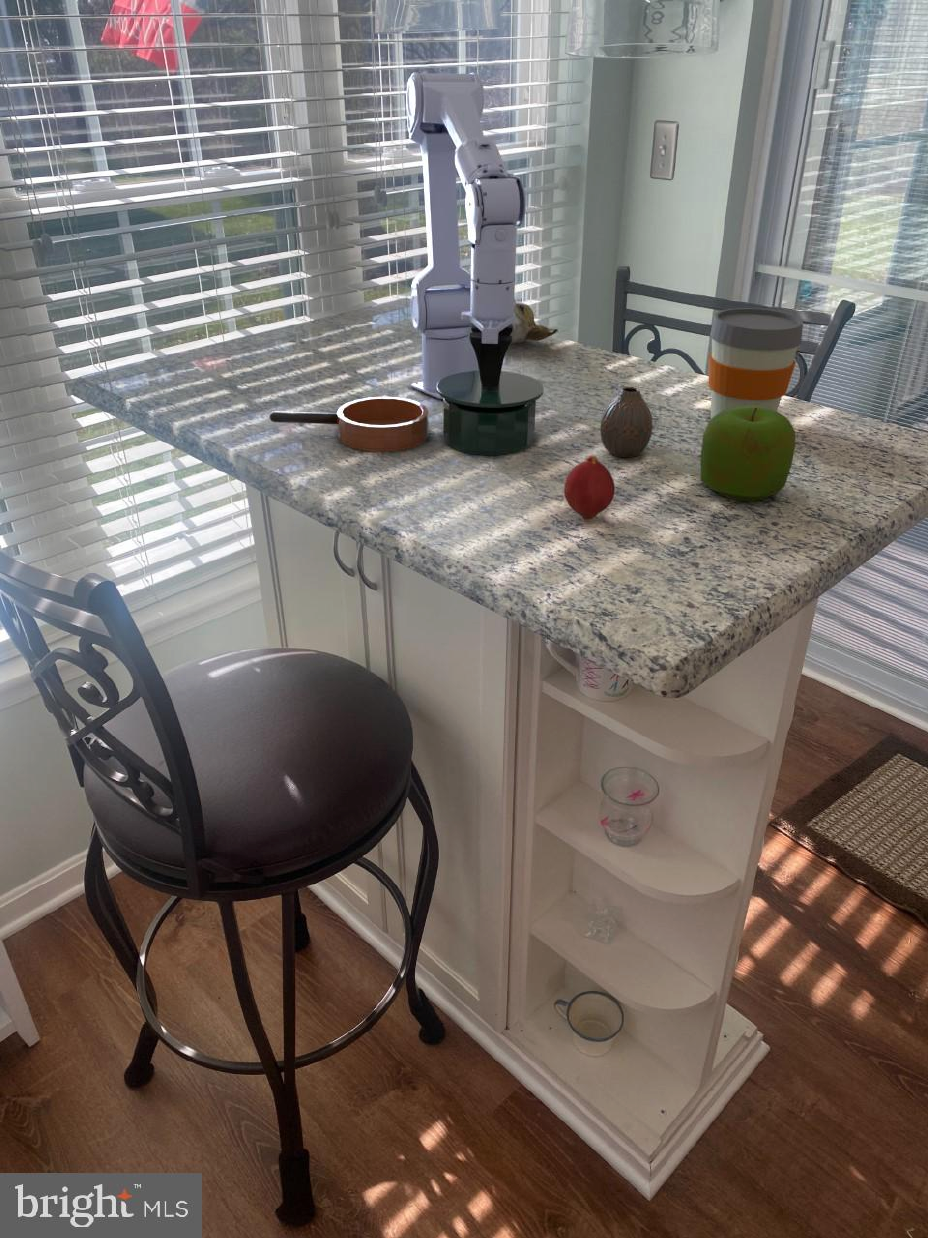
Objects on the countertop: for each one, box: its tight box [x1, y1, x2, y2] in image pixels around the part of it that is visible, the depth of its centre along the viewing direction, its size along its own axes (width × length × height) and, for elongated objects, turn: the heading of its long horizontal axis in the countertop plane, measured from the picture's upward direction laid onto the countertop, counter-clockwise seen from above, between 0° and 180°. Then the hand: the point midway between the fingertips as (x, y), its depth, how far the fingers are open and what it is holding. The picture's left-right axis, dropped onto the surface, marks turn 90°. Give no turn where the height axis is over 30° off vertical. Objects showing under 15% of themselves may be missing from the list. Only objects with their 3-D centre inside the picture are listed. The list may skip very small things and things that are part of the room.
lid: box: [437, 370, 545, 408], centre depth 134 cm, size 15×15×5 cm
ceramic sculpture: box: [510, 297, 559, 345], centre depth 178 cm, size 11×9×15 cm
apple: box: [700, 406, 796, 503], centre depth 121 cm, size 11×11×11 cm
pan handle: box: [269, 410, 337, 425], centre depth 138 cm, size 10×2×2 cm, turn 86°
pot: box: [442, 399, 537, 456], centre depth 137 cm, size 13×18×6 cm
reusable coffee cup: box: [708, 307, 804, 420], centre depth 142 cm, size 12×13×15 cm
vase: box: [600, 386, 654, 458], centre depth 132 cm, size 7×7×9 cm
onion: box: [563, 454, 616, 520], centre depth 114 cm, size 6×6×8 cm
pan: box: [336, 396, 430, 453], centre depth 138 cm, size 13×13×4 cm
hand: (490, 382), depth 134 cm, fingers closed on lid, 2 cm apart
